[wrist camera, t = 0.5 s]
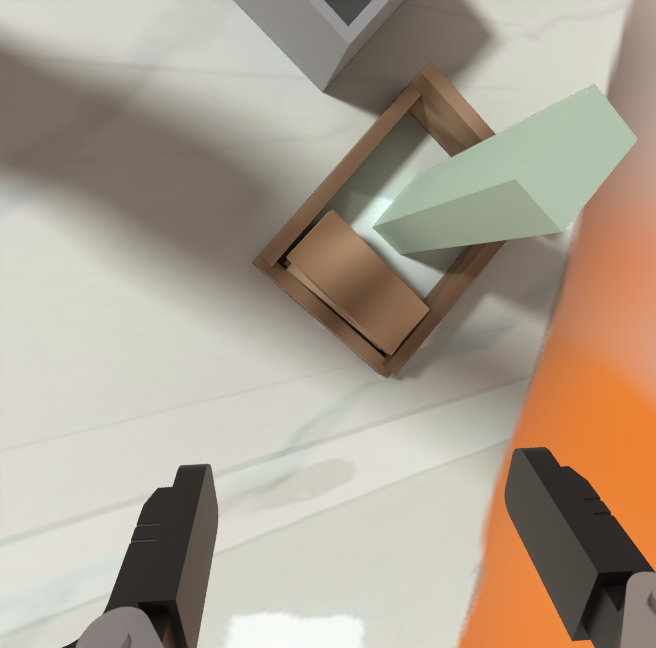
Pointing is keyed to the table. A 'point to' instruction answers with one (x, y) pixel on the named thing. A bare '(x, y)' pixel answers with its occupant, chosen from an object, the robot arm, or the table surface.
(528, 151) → the tall mint green block
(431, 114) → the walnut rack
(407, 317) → the offcut stack
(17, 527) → the table surface
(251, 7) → the grey holder
